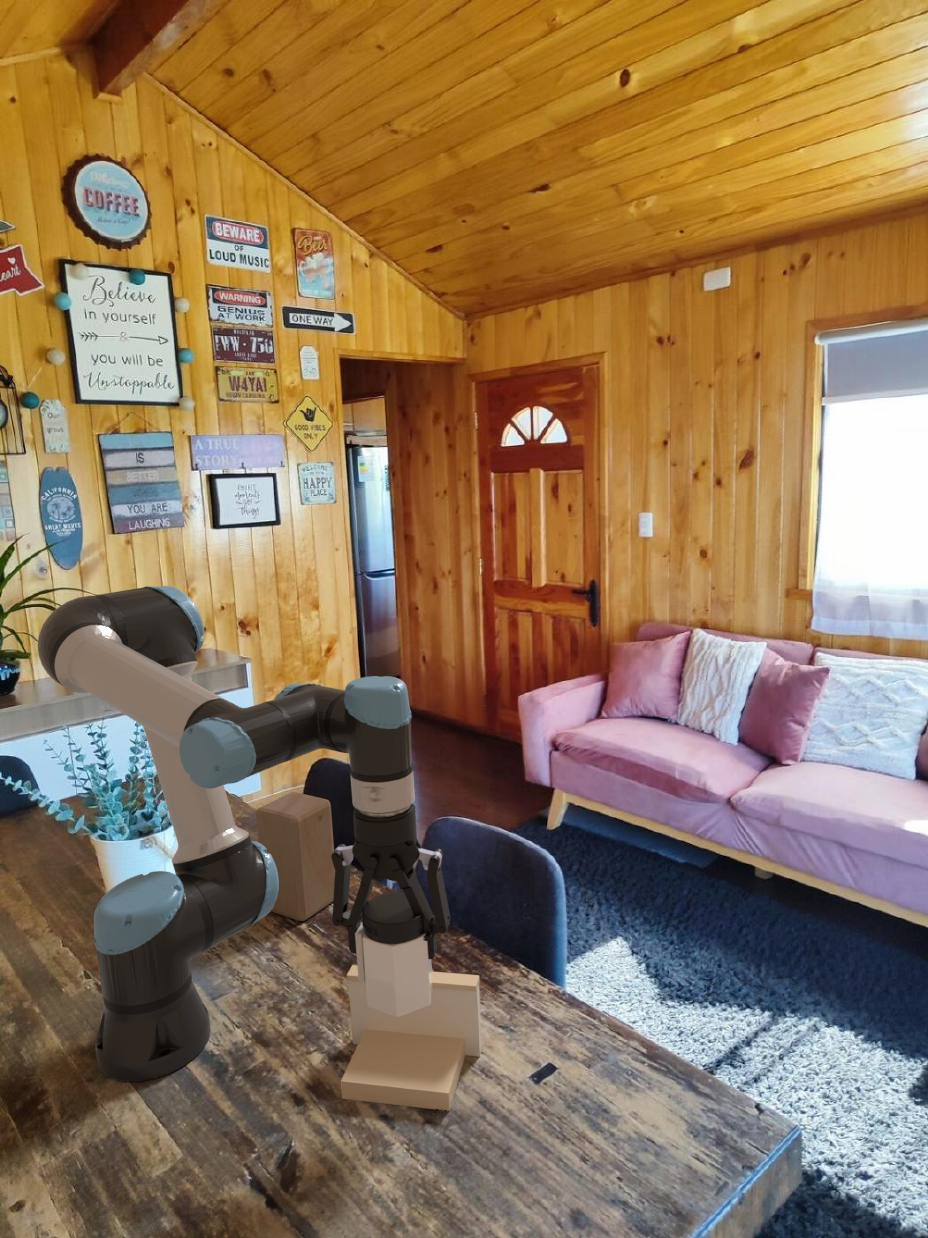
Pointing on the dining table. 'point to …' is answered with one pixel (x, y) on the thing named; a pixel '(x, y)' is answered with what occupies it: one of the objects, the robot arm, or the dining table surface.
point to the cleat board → (413, 1045)
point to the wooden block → (299, 852)
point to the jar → (395, 956)
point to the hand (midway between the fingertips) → (394, 977)
